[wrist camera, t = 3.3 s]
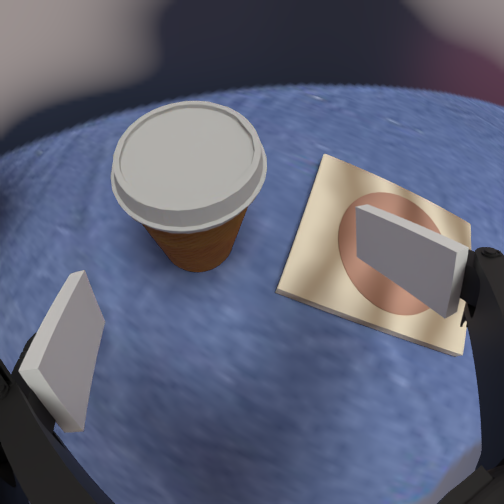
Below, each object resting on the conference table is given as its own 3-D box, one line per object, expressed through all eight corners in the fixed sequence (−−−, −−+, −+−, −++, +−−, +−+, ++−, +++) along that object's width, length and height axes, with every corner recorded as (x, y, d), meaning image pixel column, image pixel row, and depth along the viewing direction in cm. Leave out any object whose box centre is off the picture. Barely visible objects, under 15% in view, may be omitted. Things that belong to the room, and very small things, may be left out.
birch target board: (275, 292, 26) (277, 287, 25) (321, 160, 32) (324, 152, 31) (455, 356, 25) (463, 354, 23) (464, 228, 31) (471, 223, 30)
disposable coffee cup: (126, 243, 26) (77, 159, 16) (197, 178, 30) (189, 81, 19) (201, 313, 25) (184, 257, 14) (272, 235, 28) (302, 144, 17)
